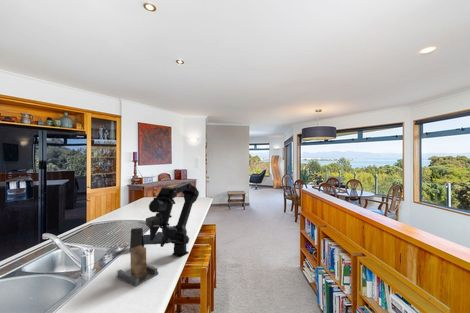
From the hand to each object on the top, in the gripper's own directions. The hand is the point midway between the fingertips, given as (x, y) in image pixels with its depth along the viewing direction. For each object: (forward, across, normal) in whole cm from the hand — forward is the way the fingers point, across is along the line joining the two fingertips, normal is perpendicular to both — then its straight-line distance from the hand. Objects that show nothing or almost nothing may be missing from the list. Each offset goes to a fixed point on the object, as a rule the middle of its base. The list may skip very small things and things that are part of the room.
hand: (156, 243), depth 116 cm
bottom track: (+14, +2, -7) cm, 16 cm away
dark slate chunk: (+9, -32, +24) cm, 41 cm away
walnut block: (+13, +3, -7) cm, 15 cm away
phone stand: (+12, -28, +9) cm, 32 cm away
